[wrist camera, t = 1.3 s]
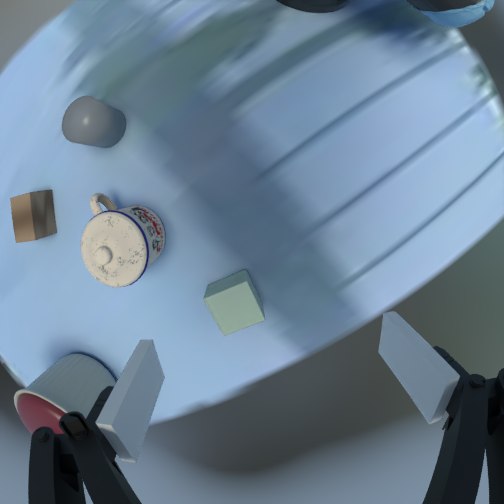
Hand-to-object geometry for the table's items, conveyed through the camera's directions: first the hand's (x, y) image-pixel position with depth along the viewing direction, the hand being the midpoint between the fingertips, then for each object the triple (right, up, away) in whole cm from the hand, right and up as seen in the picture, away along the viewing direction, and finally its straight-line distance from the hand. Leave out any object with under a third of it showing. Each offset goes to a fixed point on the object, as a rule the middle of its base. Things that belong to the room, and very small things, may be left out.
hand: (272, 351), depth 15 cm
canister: (-32, -19, +30) cm, 48 cm away
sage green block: (-3, -1, +26) cm, 26 cm away
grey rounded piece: (-22, +23, +19) cm, 37 cm away
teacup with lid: (-18, +9, +23) cm, 30 cm away
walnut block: (-35, +12, +21) cm, 43 cm away
